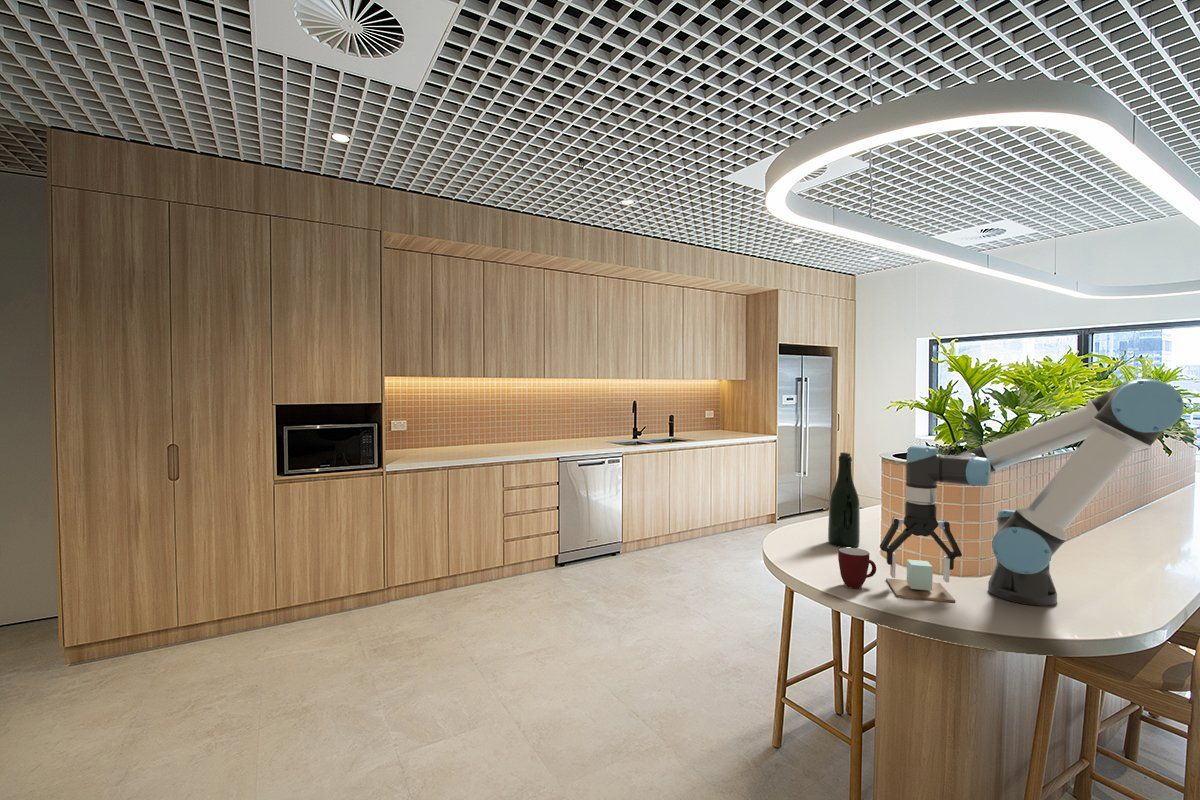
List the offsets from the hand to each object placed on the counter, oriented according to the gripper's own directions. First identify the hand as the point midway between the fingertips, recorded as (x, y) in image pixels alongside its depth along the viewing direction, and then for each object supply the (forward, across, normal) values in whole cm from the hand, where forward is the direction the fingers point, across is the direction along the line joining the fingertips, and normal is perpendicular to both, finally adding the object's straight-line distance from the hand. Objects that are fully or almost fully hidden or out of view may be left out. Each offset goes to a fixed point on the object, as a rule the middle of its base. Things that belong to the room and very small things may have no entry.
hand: (919, 578), depth 161 cm
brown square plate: (+3, 0, 0) cm, 3 cm away
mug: (+4, +16, +1) cm, 16 cm away
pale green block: (+2, 0, 0) cm, 2 cm away
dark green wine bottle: (+4, +14, -45) cm, 47 cm away
